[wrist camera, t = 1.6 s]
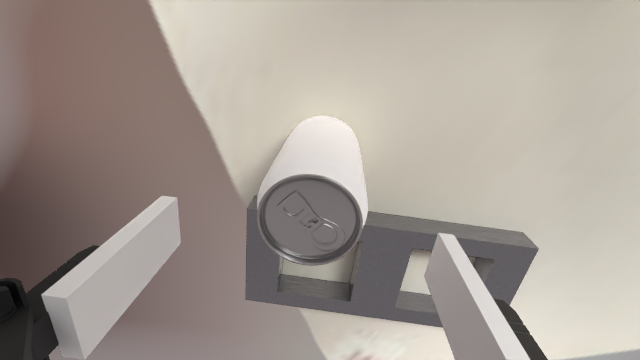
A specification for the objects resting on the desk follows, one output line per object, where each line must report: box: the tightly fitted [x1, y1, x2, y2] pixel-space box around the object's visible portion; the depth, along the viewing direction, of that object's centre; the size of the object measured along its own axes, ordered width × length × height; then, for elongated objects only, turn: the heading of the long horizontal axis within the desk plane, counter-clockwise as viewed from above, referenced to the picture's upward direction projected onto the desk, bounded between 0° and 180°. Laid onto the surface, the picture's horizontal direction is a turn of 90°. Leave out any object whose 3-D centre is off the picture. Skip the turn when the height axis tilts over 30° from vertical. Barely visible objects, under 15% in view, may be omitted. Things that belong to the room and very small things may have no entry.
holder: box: [246, 196, 539, 327], centre depth 30 cm, size 11×26×2 cm, turn 83°
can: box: [257, 116, 368, 265], centre depth 21 cm, size 6×6×12 cm
